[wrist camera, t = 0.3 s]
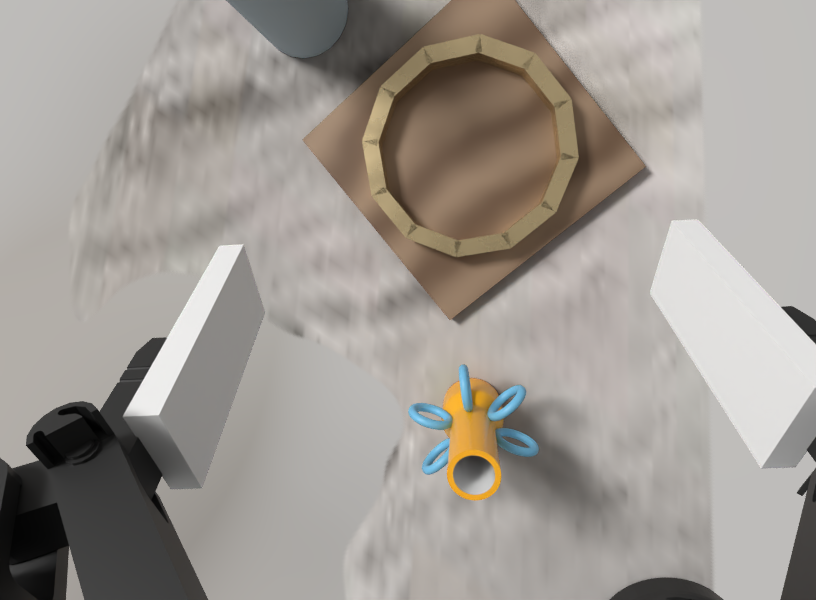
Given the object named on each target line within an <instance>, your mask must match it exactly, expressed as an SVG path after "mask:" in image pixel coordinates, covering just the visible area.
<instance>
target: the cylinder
mask: <svg viewBox="0 0 816 600" xmlns="http://www.w3.org/2000/svg"><path fill="white" fill-rule="evenodd" d="M459 380H460V381H458V382H456V383H455V384H453V385H452V386H451V387H450V388H449V389H448V391H447V393H446V395H445V397H444V402H443V409H442V408H440V407H437V406H434V405H431V404H426V403H416V404H413V405H412V406H410V408H409V411H408V412H409V415H410V417H411V418H412V419H413V420H414V421H415V422H417V423H418V424H420V425H422V426H425V427H428V428H431V429H436V430H444V431H445V433H446V434H447V436H448V437H449V438H448V439H446V440H444V441H442V442H441V443H440V444H438V445H437V446H436V447H435V448H434V449H433V450H432V451H431V452H430V453H429V454H428V456H427V457H426V459H425V460H424V462H423V465H422V470H423V472H424V473H425V474H428V475H429V474H433V473H435V472H437V471H439V470H440V469H442V468H443V467H444V466H445V465H446V464H447V463H448V467H447V479H448V482H449V485H450V487H451V488H452V489H453V491H454V492H455V493H456V494H458V495H459V496H461V497H463V498H465V499H468V500H482V499H485V498H488V497H489V496H491V495H492V494H494V493H495V491H496V490H497V489H498V487H499V485H500V482H501V469H500V462H499V455H498V447H497V445H499V446H500V447H501V448H503V449H504V450H506V451H508V452H510V453H513V454H515V455H519V456H524V457H532V456H535V455H536V454H537V453H538V451H539V447H538V444H537V443H536V442H535V441H534V440H533V439H532V438H531V437H529V436H528V435H526V434H524V433H522V432H519V431H517V430H513V429H509V428H503V423H504V418H505V417H507V416H508V415H510V414H511V413H512V412H513V411H515V410H516V409H517V408H518V406H519V405H520V404H521V403H522V401H523V400H524V398H525V396H526V389H525V388H524V387H523V386H521V385H516V386H513V387H511V388H509V389H507V390H506V391H504V392H503V393H502V394H500V395H498V393H497V391H496V390H495V389H494V387H493V386H491V385H490V384H489V383H487V382H486V381H483V380H481V379H476V378H469V372H468V368H467V366H466V365H461V366H460V367H459ZM514 395H515V397H514V398H513V399H512V400H511V401H510V402H509V403H508V404H507V405H506V406H505V407H504V408H502V404H503V403H504V402H505V401H507V400H508V399H509V398H511V397H512V396H514ZM419 411H423V412H429V413H432V414H435V415H437V416H439V417H441V418H442V421H436V420H432V419H429V418H426V417H424V416H422V415H420V414H419V413H418V412H419ZM502 436H506V437H511V438H514V439H517V440H519V441H521V442H523V443H525V444H526V445H527V446H529V448H525V447H520V446H517V445H514V444H512V443H510V442H508V441H506V440H505V439H504V438H503V437H502ZM448 447H449V448H448ZM447 448H448V449H447ZM445 449H447V451H446V452H445V453H444V454H443V456H442V457H441V458H439V459H438V460H437V461H436V462H435V463H433V461H434V460H435V459H436V458H437V457H438V455H439V454H441V453H442V452H443V451H444V450H445ZM432 463H433V464H432Z"/></svg>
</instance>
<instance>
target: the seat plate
mask: <svg viewBox="0 0 816 600" xmlns="http://www.w3.org/2000/svg"><path fill="white" fill-rule="evenodd" d="M477 34H480V35H481V34H482V35H485V36H488V37H491V38H494V39H497V40H500V41H502V42H505V43H508V44H511V45H514V46H517V47H520V48H523V49H525V50H528V51H531V52H534V54H535V53H536V55H537V56H538V57H539V58H540V60H541V61H542V62H543V63H544V65H545V66H546V67H547V68H548V70H549V71H550V72H551V73H552V75H553V76H554V77H555V79H556V80H557V81H558V82H559V84H560V85H561V86H562V87H563V89H564V90H565V91H566V92H567V94H568V95H569V96H570V97H571V99H572V106H573V115H574V123H575V131H576V139H577V147H578V155H579V157H578V158H579V159H578V161H577V163H576V166H575V168H574V171H573V173H572V175H571V178H570V180H569V183H568V185H567V187H566V190H565V192H564V195H563V197H562V199H561V202H560V204H559V207H558V209H557V211H556V212H555V214H553V215H552V216H551V217H550V218H548V219H547V220H546V221H545V222H543V223H542V224H541V225H540V226H538V227H537V228H536V229H535V230H533V231H532V232H531V233H530V234H528V235H527V236H526V237H525V238H523V239H522V240H521V241H519V242H518V243H517V244H516V245H514V246H513V247H512V248H510V249H504V250H497V251H491V252H485V253H479V254H473V255H467V256H461V257H457V255H456V257H454V256H452V255H449V254H446V253H444V252H441V251H439V250H436V249H433V248H431V247H428V246H425V245H423V244H420V243H417V242H415V241H412V240H409V239H407V238H405V236H404V235H403V234H402V233H401V232H400V230H399V229H398V228H397V227H396V225H395V224H394V223H393V222H392V221H391V219H390V218H389V217H388V216H387V214H386V213H385V212H384V211H383V210H382V208H381V207H380V206H379V205H378V203H377V202H376V201H375V200H374V198H373V197H372V196H371V190H370V184H369V179H368V173H367V167H366V161H365V156H364V150H363V144H362V142H363V141H362V140H363V137H364V134H365V131H366V128H367V125H368V122H369V119H370V116H371V113H372V110H373V107H374V104H375V101H376V98H377V95H378V92H379V89H380V87H381V85H382V84H384V83H385V82H386V81H387V80H388V79H389V78H390V77H391V76H392V75H393V74H394V73H395V72H396V71H398V70H399V69H400V68H401V67H402V66H403V65H404V64H405V63H406V62H407V61H408V60H409V59H411V58H412V57H413V56H414V55H415V54H416V53H417V52H418V51H419V50H420V49H421V48H422V47H423V48H424V46H429V45H433V44H437V43H442V42H446V41H451V40H455V39H460V38H464V37H468V36H473V35H477ZM571 99H570V100H571ZM303 141H304V143H305V144H306V145H307V146H308V147H309V149H310V150H311V151H312V152H313V154H314V155H315V156H316V157H317V158H318V160H319V161H320V162H321V163H322V165H323V166H324V167H325V168H326V169H327V171H328V172H329V173H330V174H331V176H332V177H333V178H334V179H335V180H336V182H337V183H338V184H339V185H340V187H341V188H342V189H343V190H344V191H345V193H346V194H347V195H348V196H349V198H350V199H351V200H352V201H353V202H354V204H355V205H356V206H357V207H358V209H359V210H360V211H361V212H362V213H363V215H364V216H365V217H366V218H367V220H368V221H369V222H370V223H371V224H372V226H373V227H374V228H375V229H376V231H377V232H378V233H379V234H380V235H381V237H382V238H383V239H384V240H385V242H386V243H387V244H388V245H389V246H390V248H391V249H392V250H393V251H394V253H395V254H396V255H397V256H398V257H399V259H400V260H401V261H402V262H403V264H404V265H405V266H406V267H407V268H408V270H409V271H410V272H411V273H412V275H413V276H414V277H415V278H416V279H417V281H418V282H419V283H420V284H421V286H422V287H423V288H424V289H425V291H426V292H427V293H428V294H429V295H430V297H431V298H432V299H433V300H434V302H435V303H436V304H437V305H438V306H439V308H440V309H441V310H442V311H443V313H444V314H445V315H446V316H447V317H448V319H449V320H451V319H452V318H453V317H455V316H456V315H457V314H458V313H460V312H461V311H462V310H464V309H465V308H466V307H467V306H469V305H470V304H471V303H472V302H474V301H475V300H476V299H478V298H479V297H480V296H481V295H483V294H484V293H485V292H487V291H488V290H489V289H490V288H492V287H493V286H494V285H495V284H497V283H498V282H499V281H501V280H502V279H503V278H504V277H506V276H507V275H508V274H509V273H511V272H512V271H513V270H515V269H516V268H517V267H518V266H520V265H521V264H522V263H524V262H525V261H526V260H527V259H529V258H530V257H531V256H532V255H534V254H535V253H536V252H538V251H539V250H540V249H541V248H543V247H544V246H545V245H546V244H548V243H549V242H550V241H552V240H553V239H554V238H555V237H557V236H558V235H559V234H560V233H562V232H563V231H564V230H566V229H567V228H568V227H569V226H571V225H572V224H573V223H575V222H576V221H577V220H578V219H580V218H581V217H582V216H583V215H585V214H586V213H587V212H589V211H590V210H591V209H592V208H594V207H595V206H596V205H597V204H599V203H600V202H601V201H603V200H604V199H605V198H606V197H608V196H609V195H610V194H612V193H613V192H614V191H615V190H617V189H618V188H619V187H620V186H622V185H623V184H624V183H626V182H627V181H628V180H629V179H631V178H632V177H633V176H634V175H636V174H637V173H638V172H640V171H641V170H642V169H643V168H645V167H646V166H645V165H644V163H643V162H642V161H641V159H640V158H639V157H638V156H637V154H636V153H635V152H634V151H633V149H632V148H631V147H630V146H629V144H628V143H627V142H626V140H625V139H624V138H623V137H622V135H621V134H620V133H619V132H618V130H617V129H616V128H615V127H614V125H613V124H612V123H611V121H610V120H609V119H608V118H607V116H606V115H605V114H604V113H603V111H602V110H601V109H600V108H599V106H598V105H597V104H596V102H595V101H594V100H593V99H592V97H591V96H590V95H589V94H588V92H587V91H586V90H585V89H584V87H583V86H582V85H581V83H580V82H579V81H578V80H577V78H576V77H575V76H574V75H573V73H572V72H571V71H570V70H569V68H568V67H567V66H566V64H565V63H564V62H563V61H562V59H561V58H560V57H559V56H558V54H557V53H556V52H555V51H554V49H553V48H552V47H551V45H550V44H549V43H548V42H547V40H546V39H545V38H544V37H543V35H542V34H541V33H540V32H539V30H538V29H537V28H536V26H535V25H534V24H533V23H532V21H531V20H530V19H529V18H528V16H527V15H526V14H525V12H524V11H523V10H522V9H521V7H520V6H519V5H518V4H517V2H516V1H515V0H451V1H450V2H449V3H448V4H447V5H446V6H445V7H444V8H443V9H442V10H441V11H440V12H438V13H437V14H436V15H435V16H434V17H433V18H432V19H431V20H430V21H429V22H428V23H427V24H426V25H425V26H423V27H422V28H421V29H420V30H419V31H418V32H417V33H416V34H415V35H414V36H413V37H412V38H411V39H410V40H408V41H407V42H406V43H405V44H404V45H403V46H402V47H401V48H400V49H399V50H398V51H397V52H396V53H395V54H394V55H392V56H391V57H390V58H389V59H388V60H387V61H386V62H385V63H384V64H383V65H382V66H381V67H380V68H379V69H377V70H376V71H375V72H374V73H373V74H372V75H371V76H370V77H369V78H368V79H367V80H366V81H365V82H364V83H363V84H361V85H360V86H359V87H358V88H357V89H356V90H355V91H354V92H353V93H352V94H351V95H350V96H349V97H348V98H346V99H345V100H344V101H343V102H342V103H341V104H340V105H339V106H338V107H337V108H336V109H335V110H334V111H333V112H332V113H330V114H329V115H328V116H327V117H326V118H325V119H324V120H323V121H322V122H321V123H320V124H319V125H318V126H317V127H315V128H314V129H313V130H312V131H311V132H310V133H309V134H308V135H307V136H306V137H305V138H304V139H303ZM382 149H383V154H384V160H385V166H386V172H387V178H388V184H389V190H390V192H391V193H392V194H393V195H394V197H395V198H396V199H397V200H398V201H399V203H400V204H401V205H402V206H403V208H404V209H405V210H406V211H407V213H408V214H409V215H410V216H411V217H412V219H413V220H414V221H415V222H416V224H417V225H419V226H422V227H425V228H427V229H430V230H433V231H435V232H438V233H441V234H443V235H446V236H449V237H451V238H454V239H457V240H463V239H469V238H474V237H480V236H486V235H492V234H498V233H503V232H504V231H506V230H507V229H508V228H509V227H510V226H512V225H513V224H514V223H515V222H517V221H518V220H519V219H520V218H522V217H523V216H524V215H525V214H527V213H528V212H529V211H530V210H532V209H533V208H534V207H535V206H537V205H538V204H539V202H540V200H541V197H542V195H543V192H544V190H545V188H546V185H547V183H548V180H549V178H550V175H551V173H552V170H553V168H554V166H555V163H556V161H557V156H556V148H555V141H554V133H553V125H552V117H551V112H550V111H549V109H548V108H547V107H546V106H545V104H544V103H543V102H542V101H541V99H540V98H539V97H538V96H537V94H536V93H535V92H534V90H533V89H532V88H531V87H530V85H529V84H528V83H527V82H526V80H525V79H524V78H523V77H522V76H521V75H518V74H516V73H513V72H510V71H507V70H504V69H501V68H498V67H496V66H493V65H490V64H487V63H484V62H481V61H479V60H477V61H472V62H468V63H463V64H458V65H454V66H449V67H445V68H440V69H435V70H432V71H431V72H430V73H428V74H427V75H426V76H425V77H424V78H423V79H422V80H421V81H420V82H419V83H417V84H416V85H415V86H414V87H413V88H412V89H411V90H410V91H409V92H408V93H407V94H405V95H404V96H403V97H402V98H401V99H400V100H399V101H398V102H397V104H396V107H395V110H394V113H393V116H392V119H391V121H390V124H389V127H388V130H387V133H386V136H385V139H384V142H383V145H382Z"/></svg>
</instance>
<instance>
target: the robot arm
mask: <svg viewBox="0 0 816 600" xmlns="http://www.w3.org/2000/svg"><path fill="white" fill-rule="evenodd" d="M650 294H651V296H652V298H653V299H654V301H655V302H656V304H657V305H658V307H659V309H660V310H661V312H662V313H663V315H664V316H665V318H666V320H667V321H668V323H669V324H670V326H671V327H672V329H673V331H674V332H675V334H676V335H677V337H678V338H679V340H680V342H681V343H682V345H683V346H684V348H685V349H686V351H687V353H688V354H689V356H690V357H691V359H692V360H693V362H694V364H695V365H696V367H697V368H698V370H699V371H700V373H701V375H702V376H703V378H704V379H705V381H706V382H707V384H708V386H709V387H710V389H711V390H712V392H713V393H714V395H715V396H716V398H717V400H718V401H719V403H720V404H721V406H722V408H723V409H724V411H725V412H726V414H727V415H728V417H729V419H730V420H731V422H732V423H733V425H734V426H735V428H736V430H737V431H738V433H739V434H740V436H741V437H742V439H743V441H744V442H745V444H746V445H747V447H748V448H749V450H750V452H751V453H752V455H753V456H754V458H755V460H756V461H757V463H758V464H759V466H760V467H761V468H785V467H786V468H787V467H796V466H797V464H798V463H799V462H800V460H801V459H802V458H803V456H804V455H805V454H806V452H807V451H808V452H809V454H810V455H811V456H812V457H813V459H814V460H815V462H816V321H815V320H814V319H813V318H811V317H809V316H808V315H806V314H805V313H803V312H801V311H800V310H798V309H796V308H794V307H792V306H788V307H780V306H779V305H778V304H777V303H776V302H775V301H774V300H773V299H772V297H771V296H770V295H769V294H768V293H767V292H766V291H765V290H764V289H763V288H762V287H761V286H760V285H759V284H758V283H757V282H756V281H755V279H754V278H753V277H751V275H750V274H749V273H748V272H747V271H746V270H745V269H744V268H743V267H742V266H741V265H740V264H739V263H738V262H737V261H736V259H735V258H734V257H733V256H732V255H731V254H730V253H729V252H728V251H727V250H726V249H725V248H724V247H723V246H722V245H721V244H720V243H719V241H717V239H716V238H715V237H714V236H713V235H712V234H711V233H710V232H709V231H708V230H707V229H706V228H705V227H704V226H703V224H702V223H701V222H700V221H699V220H698V219H694V220H676V221H671V225H670V228H669V231H668V235H667V238H666V241H665V244H664V248H663V251H662V254H661V258H660V261H659V264H658V268H657V271H656V274H655V277H654V281H653V284H652V287H651V291H650ZM264 314H265V310H264V307H263V304H262V301H261V298H260V295H259V291H258V288H257V285H256V282H255V279H254V276H253V273H252V269H251V266H250V263H249V260H248V257H247V254H246V251H245V247H244V244H243V245H225V246H219V248H218V249H217V251H216V253H215V255H214V256H213V258H212V260H211V262H210V263H209V265H208V267H207V269H206V270H205V272H204V274H203V276H202V278H201V279H200V281H199V283H198V285H197V286H196V288H195V290H194V292H193V293H192V295H191V297H190V299H189V301H188V302H187V304H186V306H185V307H184V309H183V311H182V313H181V315H180V316H179V318H178V320H177V322H176V324H175V325H174V327H173V329H172V331H171V332H170V334H169V336H168V337H167V338H152V339H151V340H150V341H149V342H147V343H146V344H145V345H144V346H143V347H142V348H141V349H139V350H138V351H137V352H136V354H135V355H134V357H133V359H132V360H131V362H130V364H129V365H128V367H127V370H125V372H124V373H123V375H122V377H121V378H120V382H119V383H117V385H116V386H115V388H114V389H113V391H112V392H111V394H110V396H109V398H108V399H107V401H106V402H105V404H104V405H103V407H102V409H101V410H100V412H99V411H98V409H97V408H96V407H95V406H94V405H93V404H92V403H87V402H83V401H82V402H73V403H68V404H66V405H63V406H60V407H58V408H56V409H54V410H52V411H51V412H49V413H48V414H46V415H44V416H43V417H42V418H41V419H40V420H39V421H38V422H37V423H36V424H35V425H33V427H32V429H31V430H30V432H29V434H28V435H27V441H26V446H27V447H28V448H29V449H30V450H31V452H32V453H33V454H34V455H35V456H36V457H37V458H38V459H39V461H36V462H33V463H29V464H26V465H22V466H19V467H16V468H11V467H10V466H9V465H8V464H7V463H6V462H5V461H3V460H2V459H1V458H0V600H66V588H67V570H68V554H69V547H70V550H71V554H72V557H73V561H74V564H75V568H76V571H77V575H78V578H79V581H80V585H81V589H82V592H83V596H84V600H208V598H207V596H206V594H205V592H204V590H203V588H202V586H201V584H200V582H199V579H198V577H197V576H196V573H195V571H194V569H193V567H192V565H191V562H190V560H189V559H188V556H187V554H186V552H185V550H184V548H183V546H182V544H181V542H180V539H179V537H178V535H177V533H176V531H175V529H174V527H173V525H172V522H171V520H170V518H169V516H168V514H167V512H166V510H165V508H164V506H163V503H162V502H161V499H160V497H159V496H158V494H157V493H156V492H155V491H156V488H157V486H158V484H159V482H160V479H161V477H163V478H164V480H165V481H166V483H167V484H168V486H169V487H170V489H193V488H202V487H203V484H204V481H205V478H206V476H207V473H208V470H209V467H210V464H211V462H212V459H213V456H214V453H215V450H216V447H217V445H218V442H219V439H220V436H221V434H222V431H223V428H224V425H225V423H226V420H227V417H228V414H229V411H230V409H231V406H232V403H233V400H234V398H235V394H236V392H237V389H238V386H239V384H240V381H241V378H242V375H243V372H244V370H245V367H246V364H247V361H248V359H249V356H250V353H251V350H252V347H253V345H254V342H255V339H256V336H257V333H258V331H259V328H260V325H261V322H262V320H263V317H264ZM806 491H807V494H806V498H805V502H804V506H803V510H802V514H801V518H800V523H799V526H798V531H797V535H796V539H795V543H794V547H793V551H792V555H791V559H790V563H789V567H788V571H787V575H786V580H785V583H784V588H783V592H782V596H781V600H816V468H815V470H814V471H813V472H812V474H811V475H810V476H809V477H808V479H807V480H806V481H805V482H804V484H803V485H802V486H801V488H800V489H799V490H798V492H797V493H798V494H799V495H801V496H803V495H804V493H805V492H806ZM610 600H723V599H722V598H721V597H720V596H718V595H717V594H716V593H714V592H713V591H711V590H709V589H708V588H706V587H704V586H702V585H699V584H697V583H694V582H691V581H687V580H683V579H677V578H655V579H648V580H644V581H641V582H637V583H635V584H632V585H630V586H628V587H626V588H624V589H623V590H621V591H620V592H618V593H617V594H616V595H614V596H613V597H612V598H611V599H610Z"/></svg>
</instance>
